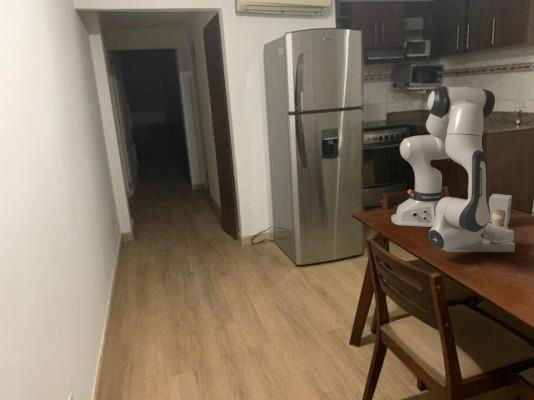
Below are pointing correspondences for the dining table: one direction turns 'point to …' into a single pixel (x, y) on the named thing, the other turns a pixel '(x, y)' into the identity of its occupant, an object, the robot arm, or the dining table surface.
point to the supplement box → (500, 205)
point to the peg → (498, 218)
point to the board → (486, 247)
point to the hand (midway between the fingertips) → (499, 225)
